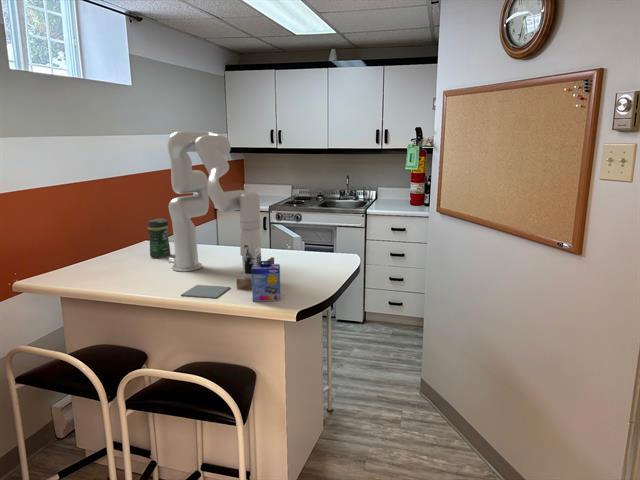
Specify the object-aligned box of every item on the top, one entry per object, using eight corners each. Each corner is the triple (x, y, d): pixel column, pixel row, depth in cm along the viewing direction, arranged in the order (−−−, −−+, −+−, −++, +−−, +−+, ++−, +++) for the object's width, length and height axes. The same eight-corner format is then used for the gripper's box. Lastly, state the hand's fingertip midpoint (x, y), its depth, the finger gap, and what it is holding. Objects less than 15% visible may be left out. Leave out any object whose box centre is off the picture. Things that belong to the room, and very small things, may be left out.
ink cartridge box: (252, 302, 163) (250, 262, 160) (253, 297, 168) (251, 258, 165) (280, 301, 164) (279, 261, 161) (280, 296, 169) (279, 257, 166)
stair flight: (237, 289, 177) (235, 263, 175) (248, 280, 188) (247, 256, 186) (264, 291, 175) (263, 265, 173) (275, 281, 186) (274, 257, 183)
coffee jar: (161, 259, 224) (158, 220, 220) (147, 258, 226) (143, 220, 222) (173, 254, 233) (170, 217, 229) (159, 253, 235) (156, 216, 231)
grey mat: (181, 296, 171) (180, 294, 171) (197, 286, 182) (197, 284, 182) (216, 298, 167) (216, 297, 167) (230, 288, 179) (230, 286, 179)
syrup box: (258, 286, 178) (256, 249, 175) (243, 285, 180) (241, 248, 176) (262, 281, 184) (261, 245, 181) (248, 280, 185) (246, 245, 182)
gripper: (249, 220, 186) (251, 264, 190) (231, 229, 169) (234, 277, 173) (267, 221, 184) (269, 265, 188) (251, 230, 168) (253, 278, 172)
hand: (252, 270), depth 181 cm, fingers closed on syrup box, 5 cm apart
